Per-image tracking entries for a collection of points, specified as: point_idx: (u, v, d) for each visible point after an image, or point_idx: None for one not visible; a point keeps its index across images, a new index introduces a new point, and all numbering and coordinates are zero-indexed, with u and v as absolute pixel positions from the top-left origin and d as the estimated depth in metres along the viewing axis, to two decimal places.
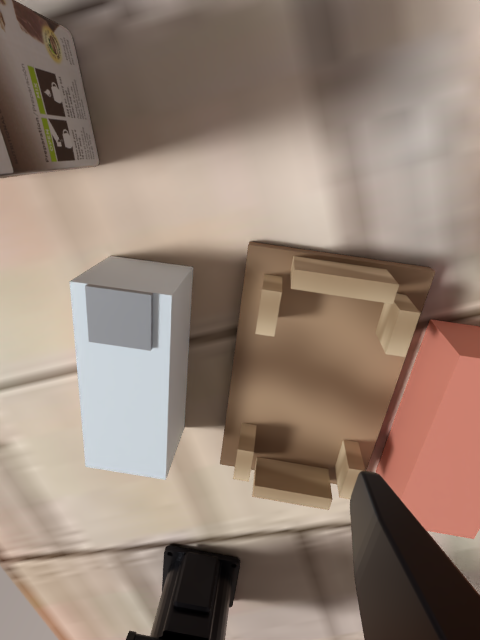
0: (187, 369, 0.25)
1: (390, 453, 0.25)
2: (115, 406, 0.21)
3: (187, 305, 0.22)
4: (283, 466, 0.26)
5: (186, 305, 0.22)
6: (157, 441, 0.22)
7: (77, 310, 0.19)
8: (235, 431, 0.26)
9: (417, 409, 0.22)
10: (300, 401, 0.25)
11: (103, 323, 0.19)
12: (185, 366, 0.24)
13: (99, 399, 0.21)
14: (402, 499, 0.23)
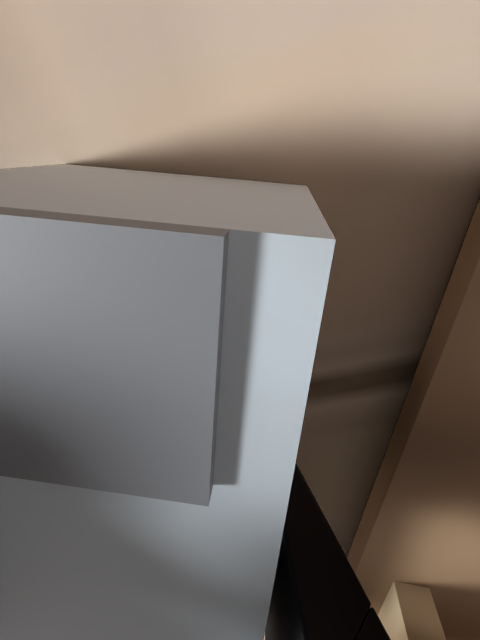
0: None
1: None
2: None
3: None
4: None
5: None
6: None
7: None
8: (373, 596, 0.11)
9: None
10: None
11: None
12: None
13: (23, 625, 0.06)
14: None
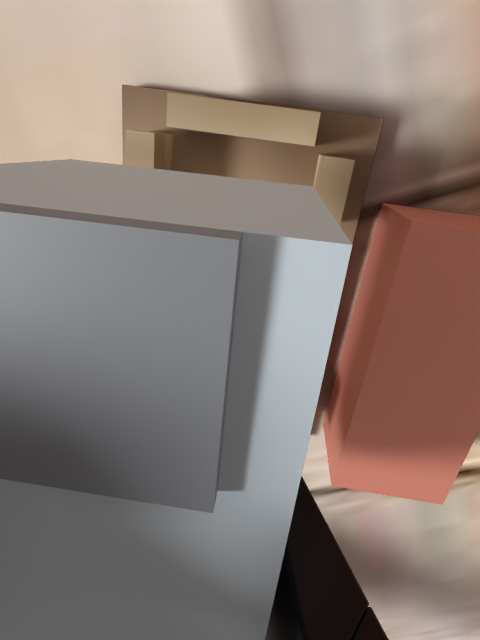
0: None
1: (336, 396, 0.19)
2: None
3: None
4: None
5: None
6: None
7: None
8: None
9: (363, 325, 0.16)
10: None
11: None
12: None
13: (19, 628, 0.06)
14: (344, 449, 0.17)
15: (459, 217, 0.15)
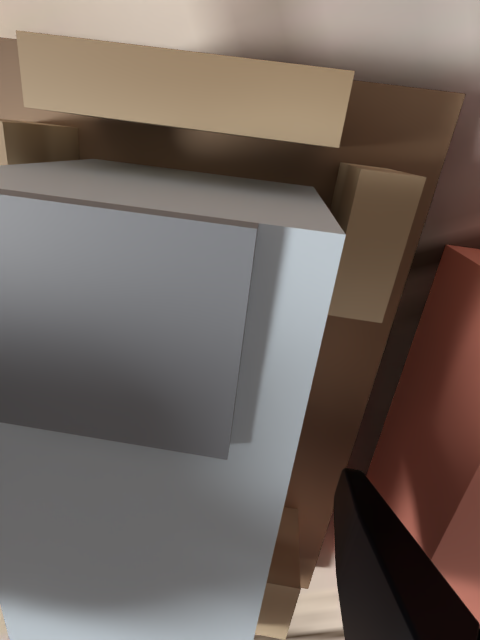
0: None
1: None
2: (96, 593, 0.07)
3: None
4: None
5: None
6: None
7: None
8: None
9: (416, 456, 0.09)
10: None
11: (40, 356, 0.05)
12: None
13: (49, 574, 0.07)
14: None
15: None
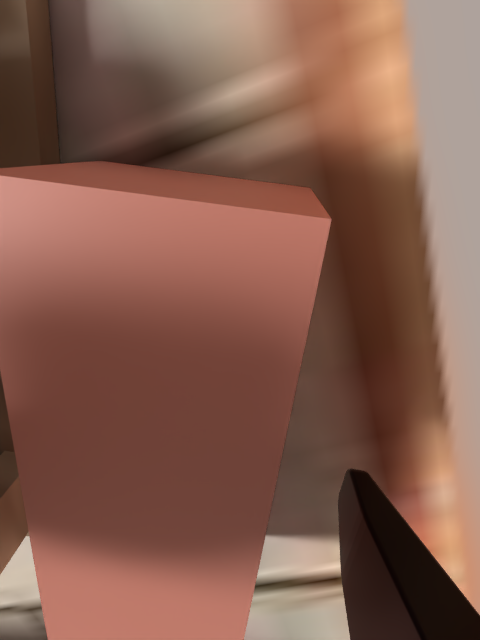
0: None
1: None
2: None
3: None
4: None
5: None
6: None
7: None
8: None
9: None
10: None
11: None
12: None
13: None
14: (44, 600, 0.09)
15: (195, 179, 0.08)
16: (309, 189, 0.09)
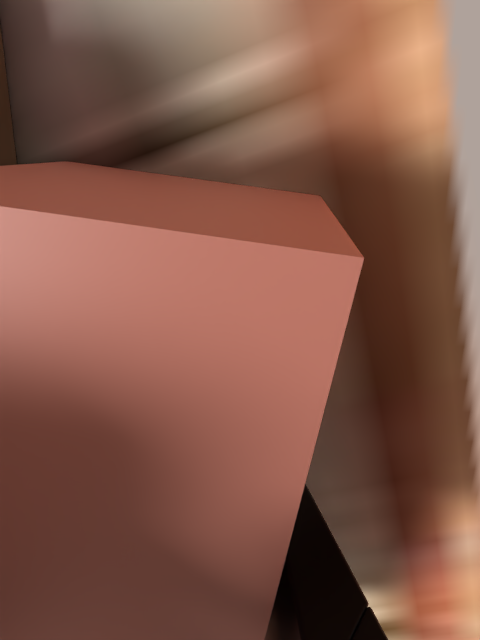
0: None
1: None
2: None
3: None
4: None
5: None
6: None
7: None
8: None
9: None
10: None
11: None
12: None
13: None
14: None
15: (173, 188, 0.06)
16: (320, 199, 0.07)
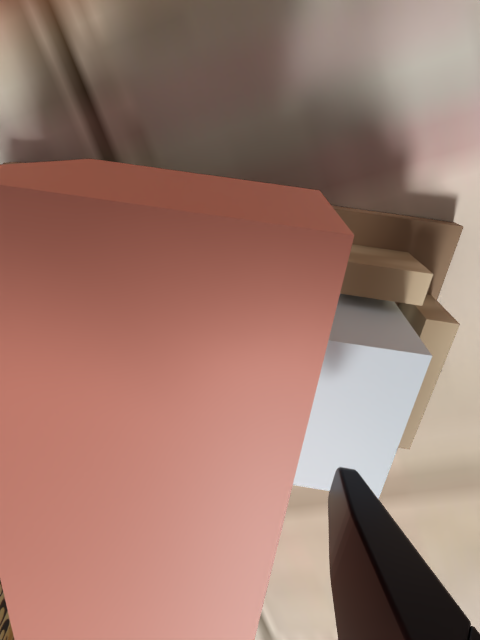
0: None
1: None
2: None
3: None
4: None
5: None
6: None
7: None
8: None
9: None
10: None
11: None
12: None
13: None
14: None
15: (190, 182, 0.07)
16: (319, 193, 0.08)
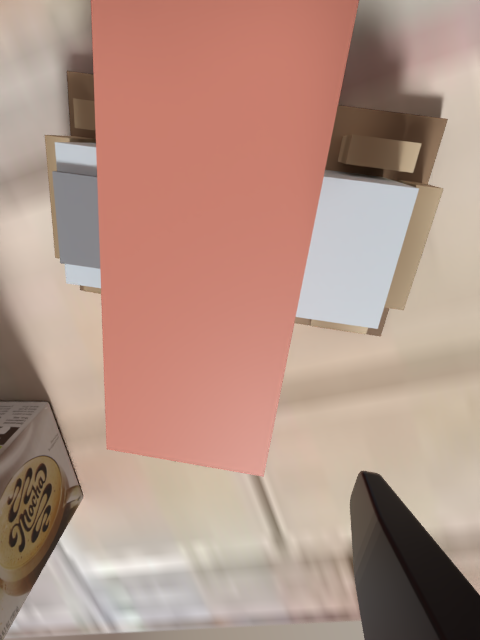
0: None
1: None
2: None
3: None
4: None
5: None
6: (324, 194, 0.13)
7: None
8: None
9: None
10: None
11: None
12: None
13: None
14: (107, 392, 0.11)
15: None
16: None
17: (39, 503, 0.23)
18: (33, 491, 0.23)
